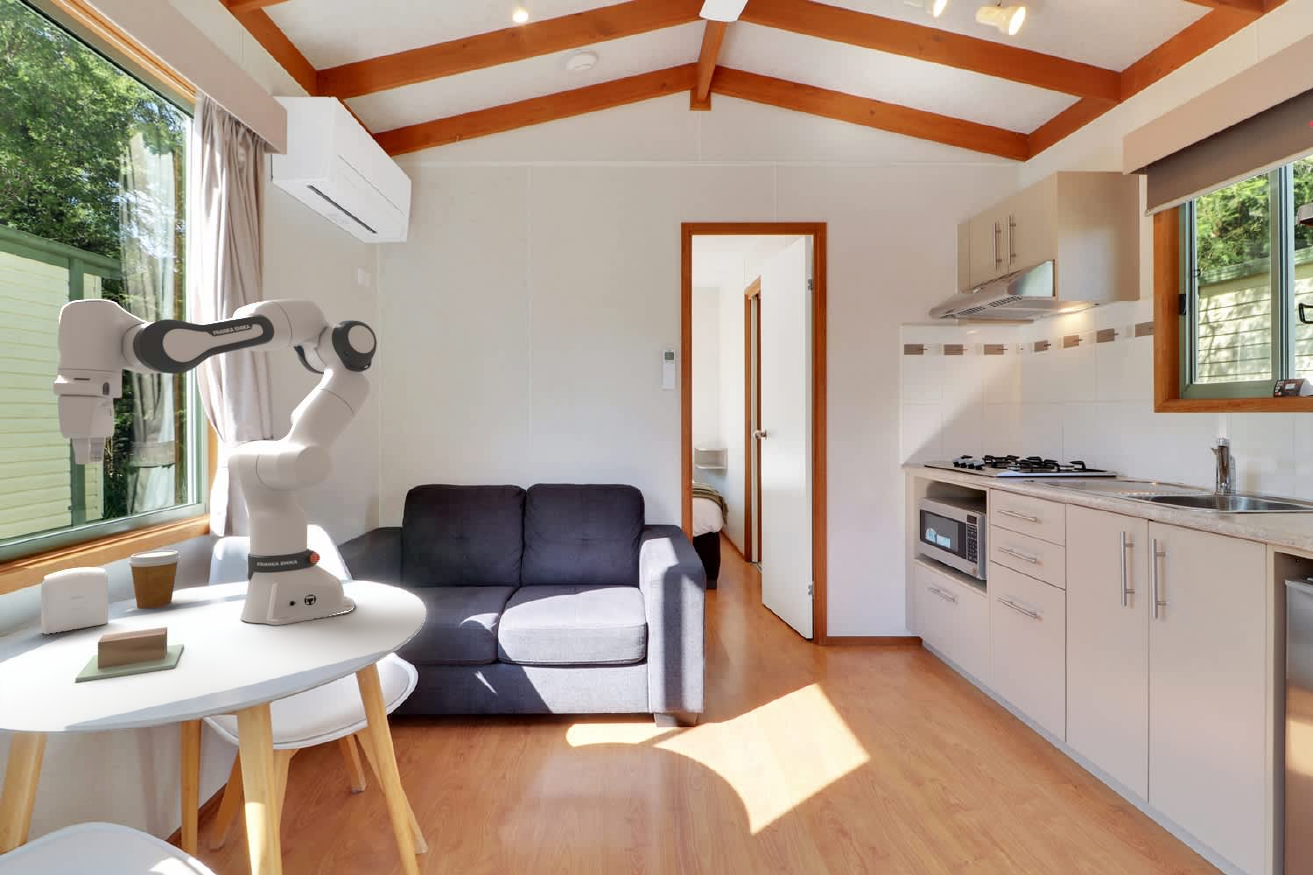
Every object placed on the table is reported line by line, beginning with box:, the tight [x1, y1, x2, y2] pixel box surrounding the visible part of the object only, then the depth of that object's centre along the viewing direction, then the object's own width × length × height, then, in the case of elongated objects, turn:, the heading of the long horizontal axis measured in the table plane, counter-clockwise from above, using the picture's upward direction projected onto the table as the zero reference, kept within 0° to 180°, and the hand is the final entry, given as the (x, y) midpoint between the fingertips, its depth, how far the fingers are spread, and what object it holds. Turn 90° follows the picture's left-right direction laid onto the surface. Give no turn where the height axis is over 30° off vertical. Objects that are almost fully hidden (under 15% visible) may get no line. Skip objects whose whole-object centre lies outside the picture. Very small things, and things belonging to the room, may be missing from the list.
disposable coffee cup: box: [127, 549, 181, 609], centre depth 148 cm, size 10×10×12 cm
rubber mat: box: [75, 643, 185, 683], centre depth 112 cm, size 13×12×1 cm
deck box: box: [97, 626, 168, 669], centre depth 112 cm, size 4×9×4 cm, turn 123°
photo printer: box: [40, 566, 109, 635], centre depth 130 cm, size 10×4×12 cm, turn 140°
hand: (89, 462), depth 116 cm, fingers open, 8 cm apart
